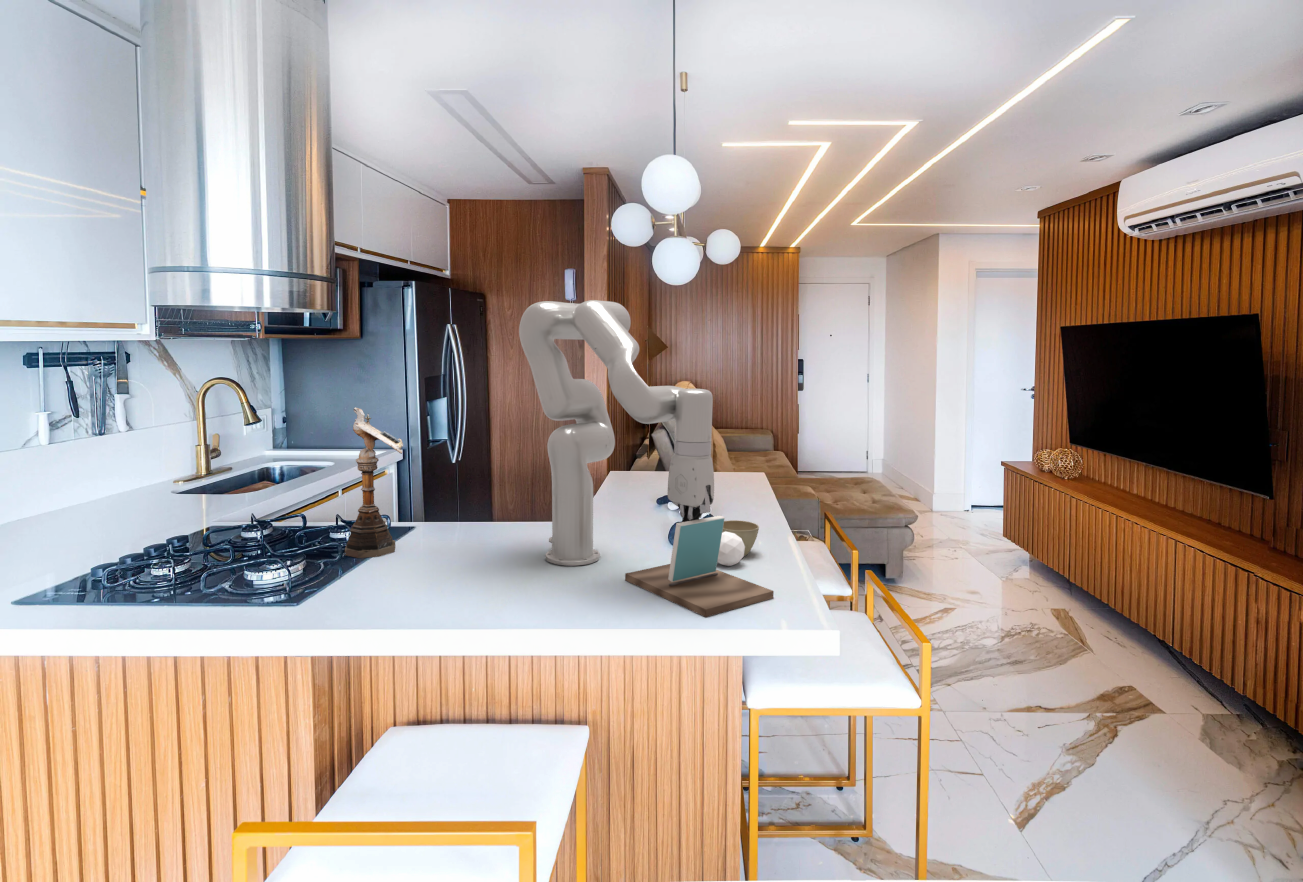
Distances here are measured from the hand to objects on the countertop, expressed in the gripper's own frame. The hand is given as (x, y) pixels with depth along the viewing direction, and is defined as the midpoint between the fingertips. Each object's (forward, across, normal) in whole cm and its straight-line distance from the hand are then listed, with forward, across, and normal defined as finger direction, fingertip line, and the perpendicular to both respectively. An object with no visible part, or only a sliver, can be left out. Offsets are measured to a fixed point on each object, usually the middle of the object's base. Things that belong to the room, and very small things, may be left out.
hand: (690, 536), depth 151 cm
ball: (+11, -6, +17) cm, 21 cm away
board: (+11, +3, 0) cm, 11 cm away
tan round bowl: (+11, -11, +25) cm, 30 cm away
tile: (+2, +2, 0) cm, 2 cm away
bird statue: (+11, -64, -44) cm, 78 cm away
